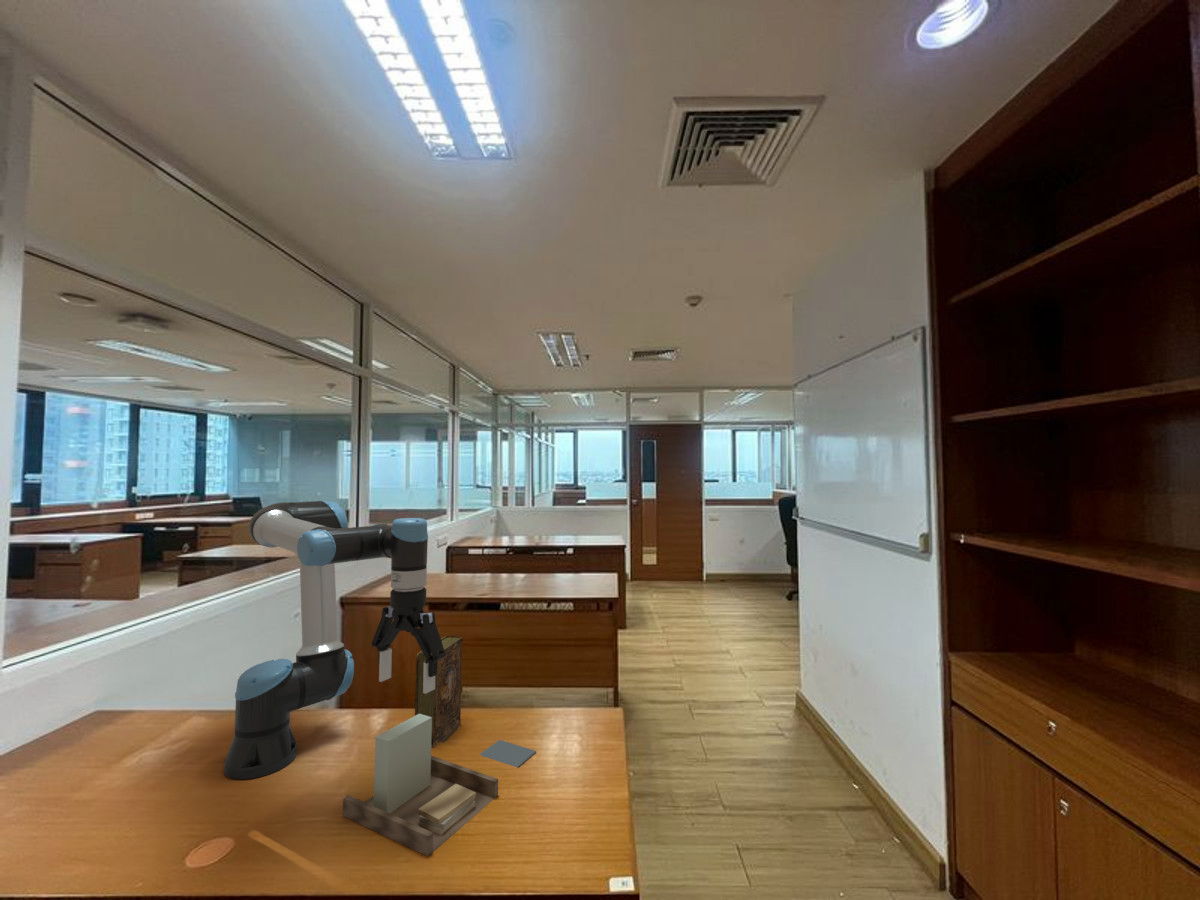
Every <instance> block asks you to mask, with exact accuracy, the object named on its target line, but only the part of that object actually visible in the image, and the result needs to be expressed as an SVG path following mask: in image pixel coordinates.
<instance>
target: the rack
mask: <svg viewBox="0 0 1200 900" xmlns="http://www.w3.org/2000/svg"><path fill="white" fill-rule="evenodd" d="M455 784H458V785H460V786H462V787H465V788H467V789H469V790H471V791H473V792H476V798H474V801H475V807H473V808H472V809H471V810H470V811H469V812H467V813H466V814H465V815H464V816H463V817H462V818H460V819H459V820H458V821H457V822H456V823H454V824H453V825H452V826H451V827H450V828H449V829H447V830H446V831H445V832H444V833H443V834H441V835H439V834H437V833H434V832H432V831H430V830H428V829H425V828H423V827H421V826H419V825H418V822H419V816H421V815H419V814H418V809H419V808H420V807H422V806H423V805H425V804H426V803H428V802H429V801H431V800H432V799H434V798H435V797H437V796H438V795H440V794H441V793H443V792H444V791H446V790H447V789H449V788H450V787H452V786H453V785H455ZM498 796H499V778H497V777H494V776H491V775H487V774H485V773H482V772H478V770H477V771H476V770H475V769H474V770H473V769H471V768H469V767H465V766H462V765H459V764H456V763H454V762H451V761H448V760H445V759H442V758H439V757H438V756H437V757H436V756H434V755H431V777H430V785H429V786H428V787H427V788H425V789H424V790H422V791H421V792H420V793H418V794H417V795H415V796H414V797H413V798H411V799H410V800H408V801H407V802H405V803H404V804H403V805H401V806H400V807H398V808H397V809H396V810H394V811H393V812H391V813H388V812H386V811H383V810H381V809H379V808H377V807H374V795H372V796H371V797H369V798H368V799H366V800H365V801H363V800H361V799H358V798H356V797H354V796H351V795H350V794H348V795H346V796H345V797H343V801H342V806H343V807H342V817H343V818H346V819H348V820H351V821H352V822H354V823H356V824H359V825H361V826H363V827H365V828H367V829H369V830H371V831H373V832H375V833H378V834H380V835H382V836H385V837H386V838H388V839H390V840H392V841H395V842H396V843H398V844H400V845H403V846H404V847H407V848H409V849H411V850H414V851H416V852H418V853H420V854H422V855H424V856H426V857H429V856H430V855H432V853H434V852H435V851H436V850H438V848H440V847H441V846H442V845H443V844H445V842H447V840H449V839H450V838H451V837H452V836H453V835H454V834H456V833H457V832H458V831H459V830H460V829H461V828H463V827H464V826H465V825H466V824H467V823H469V821H470V820H472V819H473V818H474V817H476V815H478V814H479V813H480V812H481V811H482V810H483V809H484V808H486V807H487V805H489V804H490V803H492V802H493V800H495V799H496V798H497V797H498Z"/></svg>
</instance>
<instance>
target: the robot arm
mask: <svg viewBox="0 0 1200 900" xmlns="http://www.w3.org/2000/svg"><path fill="white" fill-rule="evenodd" d="M248 534H249V536H250V538H251V539H252V541H254V542H255V543H256V544H258V545H260V546H262V547H265V548H281V549H284V550H286V551H290V552H292V553H294V554H296V555H297V557H298V560H299V578H300V579H299V583H300V584H299V585H300V608H301V609H300V610H301V611H300V613H301V614H300V616H301V617H300V619H301V643H302V644H301V645H302V646H301V647H300V648H299V650H298V651H297V652H296V653H295V662H292V661H291V660H290V659H288V658H278V659H275V660H274V659H270V660H268V661H267V660H266V661H263V662H261V663H257V664H256V665H253V666H251V667H250V668H248V669H246V670H245V671H244V672H243V673H241V675H239V677H238V679H237V681H236V688H235V689H236V691H235V695H234V699H235V712H234V733H233V735H234V736H233V739H232V741H231V744H230V746H229V749H228V752H227V753H226V757H225V760H224V766H223V773H224V775H225V776H226V777H227V778H230V779H231V780H232V779H234V780H248V779H256V778H259V777H263V776H266V775H270V774H272V773H275V772H278V771H279V770H281V769H283V768H285V767H287V766H288V765H289V764H291V763H292V762H293V761H294V760H295V758H296V756H297V754H298V751H297V749H298V744H297V740H296V738H295V734H294V733H293V730H292V727H291V713H292V712H294V711H297V710H300V709H303V708H306V707H309V706H312V705H315V704H318V703H321V702H325V701H329V700H332V699H333V698H335V697H338V696H341V695H343V694H345V693H346V692H347V691H348V689H349V688H350V687H351V685H352V683H353V679H354V675H355V674H354V673H355V662H354V658H353V654H352V653H351V651H350V650H348V649H345V644H344V643H343V642H342V641H340V640H339V637H338V636H339V635H338V615H337V613H338V612H337V591H336V589H337V588H336V567H335V566H336V565H335V564H339V563H347V562H355V561H356V562H358V561H363V560H364V561H365V560H373V559H374V560H375V559H381V558H384V559H385V558H386V559H387V558H388V559H390V560H391V561H390V564H391V566H390V567H391V568H390V569H391V571H390V573H391V574H390V576H391V577H390V588H392V589H391V590H390V593H389V594H390V596H389V597H390V598H389V599H390V601H389V605H388V606H384V607H382V610H381V611H382V612H381V618H380V620H379V623H378V626H377V628H376V631H375V633H374V636H373V639H372V641H371V646H372V648H376V650H377V651H378V658H377V662H378V665H379V667H378V668H379V670H378V682H381V683H382V682H384V681H387V680H389V679H391V678H392V661H393V660H392V658H393V657H392V656H393V654H392V653H393V651H392V650H393V649H392V648H391V647H392V643H393V642H394V640H395V639H396V638H397V636H398V634H399V633H400V632H403V631H404V632H406V633H410V634H411V636H412V637H413V636H414V639H415V640H416V642H417V644H418V646H419V648H420V649H421V650H420V651H422V652H423V654H424V656H425V658H426V661H425V662H424V671H423V693H425V694H426V693H428V692H430V691H432V690H434V689H435V675H437V661H438V659H441V658H443V657H445V651H444V648H443V645H442V642H441V636H440V632H439V629H438V627H437V623H436V614H435V612H433V611H431V612H427V613H425V612H424V607H425V605H426V603H427V588H426V586H427V582H428V581H427V577H428V575H427V569H428V568H427V565H428V564H427V563H428V543H429V540H428V539H429V533H428V522H427V520H426V519H425V518H423V517H422V518H421V517H401V518H395V519H394V520H393V521H392V523H391V524H387V523H375V524H371V525H365V526H355V527H354V526H352V527H349V525H348V517H347V514H346V512H345V510H344V508H343V507H342V506H341V504H339V503H338V502H336V501H330V500H329V501H328V500H316V501H315V500H314V501H295V502H277V503H272V504H269V505H266V506H265V507H262V508H261V509H258V511H257V512H255V513H254V514H253V516H252V517H251V519H250V521H249V524H248ZM438 652H439V653H438ZM431 654H432V655H431Z"/></svg>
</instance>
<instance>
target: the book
mask: <svg viewBox="0 0 1200 900" xmlns="http://www.w3.org/2000/svg"><path fill="white" fill-rule="evenodd" d="M440 639H441V642H442V645H443V648H444V651H445V657H443V658H441V659H438V661H437V675H435V689H434V690H432V691H430V692H428V693H426V694H425V693H423V671H424V662H425V661H426V658H425V656H424V654H423V652H422V650H420V651H419V652H418V653H417V654H416V657H415V658H416V660H415V662H416V663H415V690H414V691H415V694H414V695H415V696H414V716H416V715H418V714H422V715H426V716H429V717H432V735H431V749H433V748H435V747H436V746H437V745H438V744H439V743H442V744H444V743H446V741H447V740H448V739H449V738H450V737H452V735H453V734H454V733H455V732H456V731H457V730H458V729H459V728H460V727H461V718H462V717H461V715H462V713H461V711H462V709H461V708H462V666H463V659H462V657H463V636H460V635H444V636H443V637H440ZM438 653H439V652H438ZM431 655H432V654H431Z"/></svg>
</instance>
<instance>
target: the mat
mask: <svg viewBox="0 0 1200 900" xmlns="http://www.w3.org/2000/svg"><path fill="white" fill-rule="evenodd" d="M536 754H537V750H534V749H531V748H528V747H525V746H521V745H518V744H514V743H512V742H508V741H505V740H501V739H499V740H497V741H496V742H494V743H493V744H492V745H490V746H489V747H488V748H486V749H485V750H484V751H482V752H480V753H479V756H481V757H484V758H487V759H490V760H494V761H496V762H499V763H502V764H505V765H509V766H511V767H515V768H517V769H519V768H520V767H521V766H522V765H524V764H525V763H526V762H527V761H528V760H529V759H531V758H532V757H533V756H534V755H536Z"/></svg>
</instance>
